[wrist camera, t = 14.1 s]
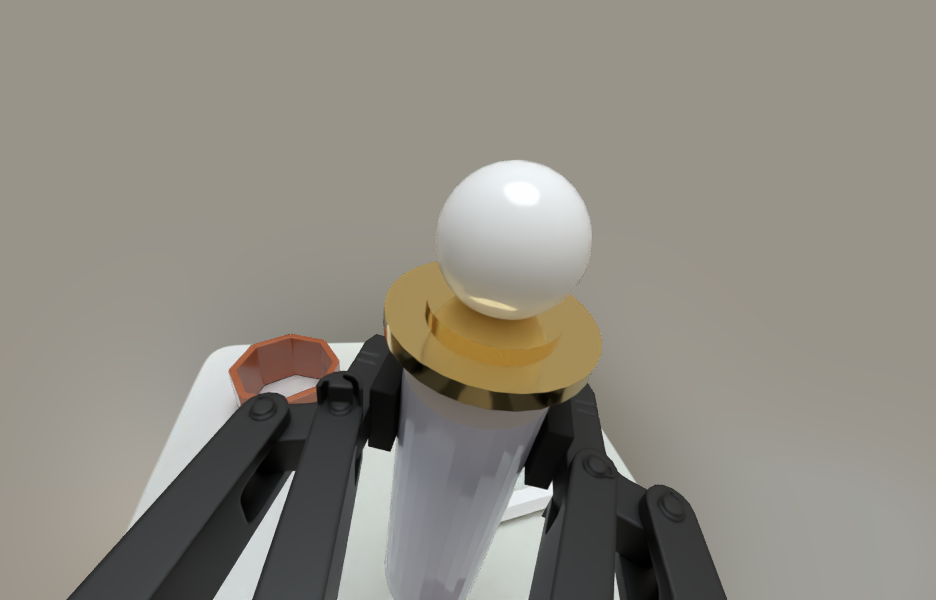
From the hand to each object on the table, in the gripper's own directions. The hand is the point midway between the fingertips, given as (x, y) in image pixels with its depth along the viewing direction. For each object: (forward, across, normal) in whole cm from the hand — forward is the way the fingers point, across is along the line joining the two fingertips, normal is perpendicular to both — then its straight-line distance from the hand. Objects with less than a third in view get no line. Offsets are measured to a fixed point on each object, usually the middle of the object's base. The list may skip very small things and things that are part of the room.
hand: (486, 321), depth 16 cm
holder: (+12, -19, -26) cm, 35 cm away
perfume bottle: (-5, 0, -12) cm, 13 cm away
